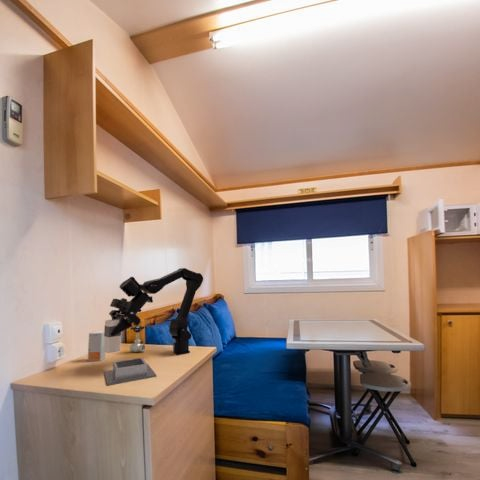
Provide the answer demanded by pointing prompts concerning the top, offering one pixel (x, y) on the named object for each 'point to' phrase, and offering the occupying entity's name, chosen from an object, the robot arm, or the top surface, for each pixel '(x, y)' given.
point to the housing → (128, 371)
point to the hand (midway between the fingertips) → (109, 334)
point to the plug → (111, 337)
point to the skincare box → (96, 346)
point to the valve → (137, 340)
